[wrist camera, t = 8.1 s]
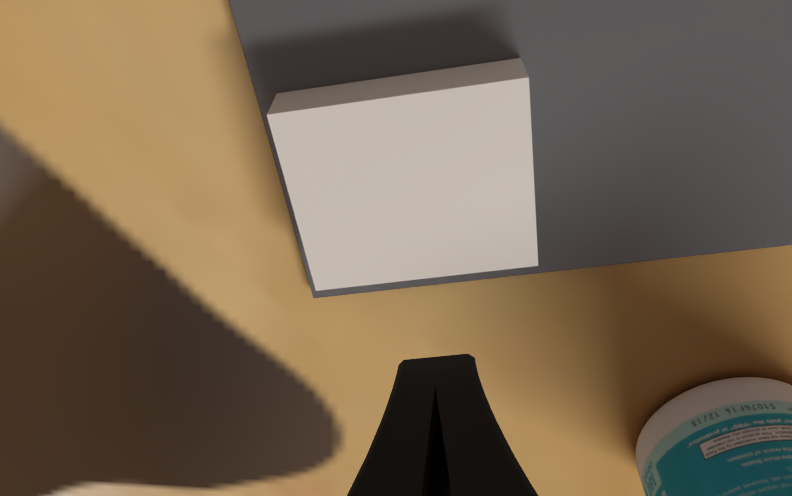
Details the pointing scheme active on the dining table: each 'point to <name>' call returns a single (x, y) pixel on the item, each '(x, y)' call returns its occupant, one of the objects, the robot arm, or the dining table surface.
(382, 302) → the dining table surface
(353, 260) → the tile
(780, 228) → the mat
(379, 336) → the dining table surface
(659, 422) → the pill bottle
